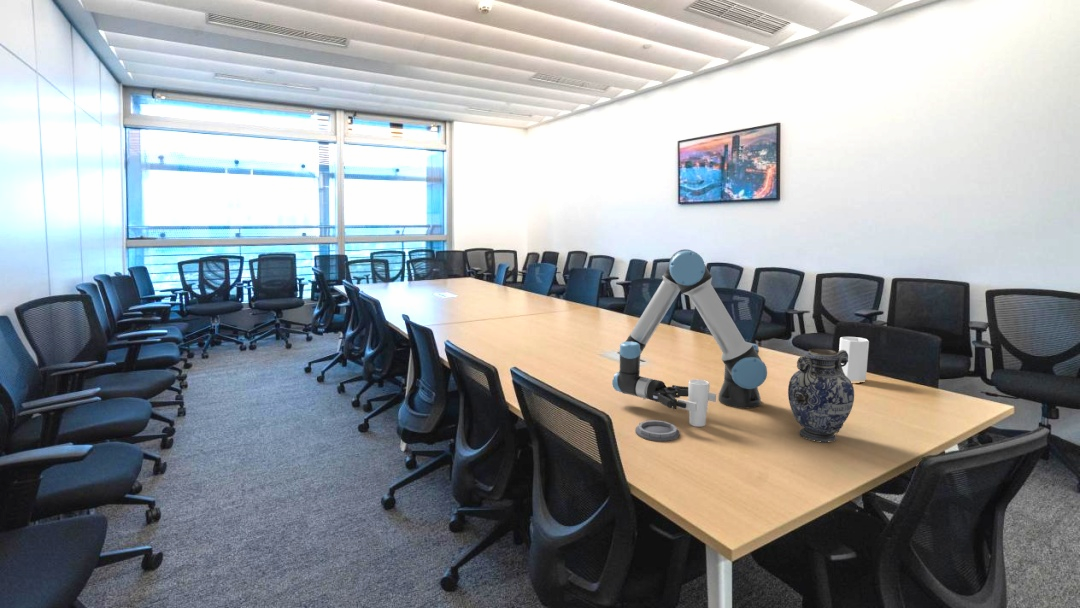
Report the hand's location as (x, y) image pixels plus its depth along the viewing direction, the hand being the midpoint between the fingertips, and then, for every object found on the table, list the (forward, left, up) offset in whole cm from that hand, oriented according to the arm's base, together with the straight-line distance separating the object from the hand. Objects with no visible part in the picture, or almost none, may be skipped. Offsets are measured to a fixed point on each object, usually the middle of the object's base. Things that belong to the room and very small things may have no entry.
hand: (706, 402), depth 178 cm
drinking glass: (+3, -1, -9) cm, 9 cm away
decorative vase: (-34, -3, -9) cm, 36 cm away
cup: (-58, -78, -9) cm, 98 cm away
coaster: (+15, +11, -9) cm, 20 cm away
